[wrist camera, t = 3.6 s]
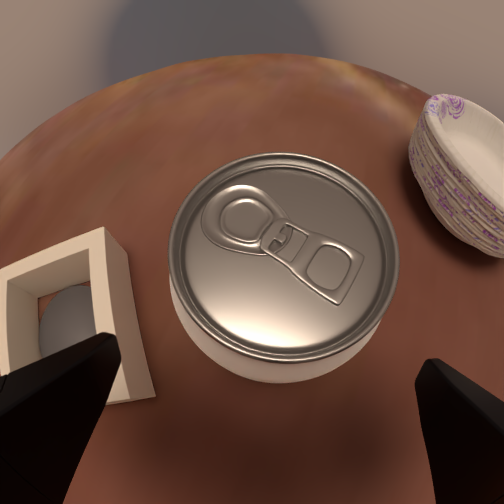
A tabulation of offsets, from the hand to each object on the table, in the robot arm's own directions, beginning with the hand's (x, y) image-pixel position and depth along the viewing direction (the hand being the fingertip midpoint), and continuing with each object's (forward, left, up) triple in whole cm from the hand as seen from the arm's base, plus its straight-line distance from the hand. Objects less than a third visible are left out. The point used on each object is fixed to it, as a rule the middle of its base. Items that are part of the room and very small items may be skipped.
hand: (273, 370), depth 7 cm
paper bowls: (+22, -10, -10) cm, 26 cm away
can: (+3, +1, -10) cm, 11 cm away
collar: (-5, +12, -10) cm, 17 cm away
